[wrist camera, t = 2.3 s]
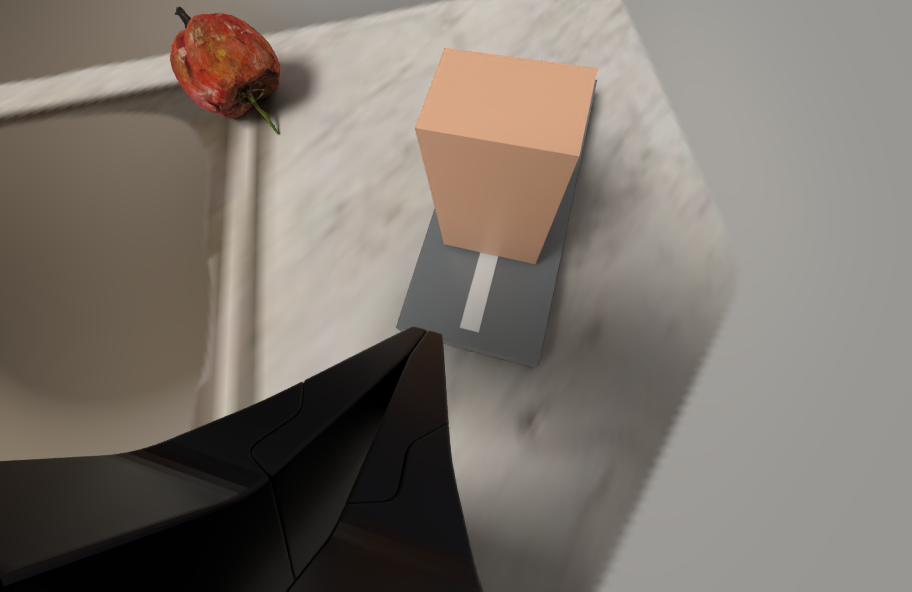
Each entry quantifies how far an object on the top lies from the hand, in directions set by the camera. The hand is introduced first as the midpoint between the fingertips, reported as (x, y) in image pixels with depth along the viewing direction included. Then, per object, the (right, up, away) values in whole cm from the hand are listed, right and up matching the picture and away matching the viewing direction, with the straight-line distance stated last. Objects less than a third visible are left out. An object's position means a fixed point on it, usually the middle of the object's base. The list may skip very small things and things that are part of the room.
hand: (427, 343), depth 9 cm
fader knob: (+3, +6, +13) cm, 15 cm away
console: (+4, +8, +16) cm, 19 cm away
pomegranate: (-17, +18, +21) cm, 32 cm away
